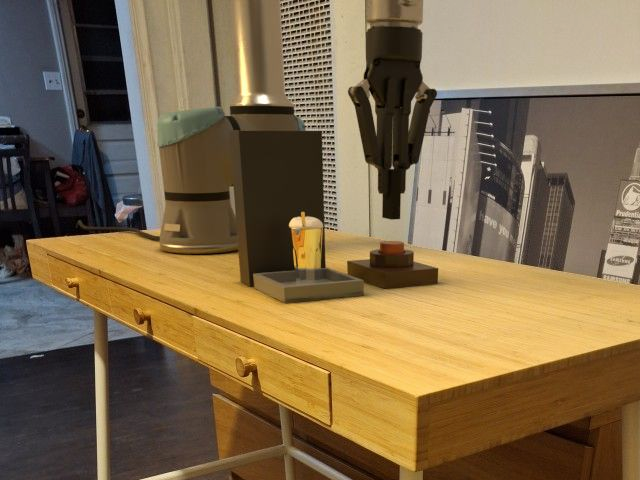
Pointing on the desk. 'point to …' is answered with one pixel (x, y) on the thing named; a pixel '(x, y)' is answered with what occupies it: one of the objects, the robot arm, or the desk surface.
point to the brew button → (392, 247)
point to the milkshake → (306, 248)
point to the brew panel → (392, 270)
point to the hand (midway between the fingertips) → (391, 218)
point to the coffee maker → (280, 212)
